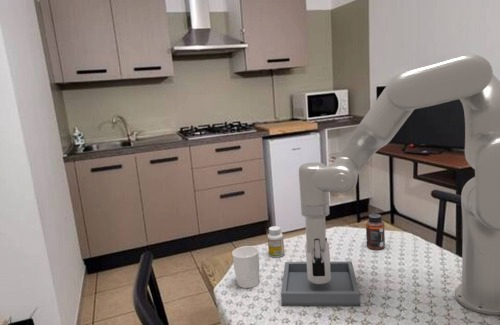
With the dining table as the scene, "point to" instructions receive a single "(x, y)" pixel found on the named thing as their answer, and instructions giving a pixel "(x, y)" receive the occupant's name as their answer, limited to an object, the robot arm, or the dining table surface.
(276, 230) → the supplement bottle
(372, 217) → the supplement bottle
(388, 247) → the dining table surface
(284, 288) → the tray
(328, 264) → the can
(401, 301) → the dining table surface
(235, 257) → the white cup
